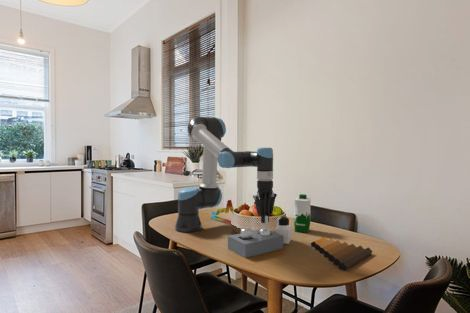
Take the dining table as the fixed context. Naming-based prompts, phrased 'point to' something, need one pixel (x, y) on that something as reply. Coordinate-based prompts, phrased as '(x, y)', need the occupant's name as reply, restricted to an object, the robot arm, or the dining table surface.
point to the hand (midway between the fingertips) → (265, 229)
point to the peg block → (255, 244)
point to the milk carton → (302, 213)
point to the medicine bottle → (284, 229)
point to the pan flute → (341, 252)
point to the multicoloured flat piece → (226, 210)
